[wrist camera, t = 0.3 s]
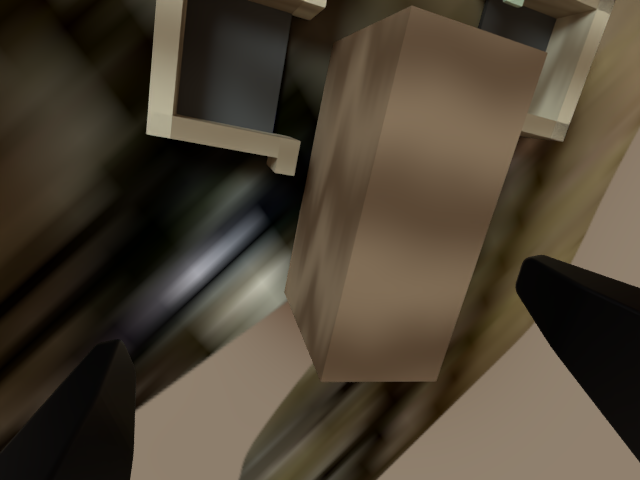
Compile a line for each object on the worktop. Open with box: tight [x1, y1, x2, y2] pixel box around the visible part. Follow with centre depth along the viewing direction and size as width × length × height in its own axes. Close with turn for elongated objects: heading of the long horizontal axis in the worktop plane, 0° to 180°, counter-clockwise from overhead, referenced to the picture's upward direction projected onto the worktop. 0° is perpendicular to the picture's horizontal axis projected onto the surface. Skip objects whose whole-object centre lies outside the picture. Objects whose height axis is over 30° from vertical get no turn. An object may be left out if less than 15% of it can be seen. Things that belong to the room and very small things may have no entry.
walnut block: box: [285, 6, 548, 382], centre depth 20 cm, size 15×6×9 cm, turn 167°
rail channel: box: [146, 0, 615, 176], centre depth 20 cm, size 17×23×4 cm
